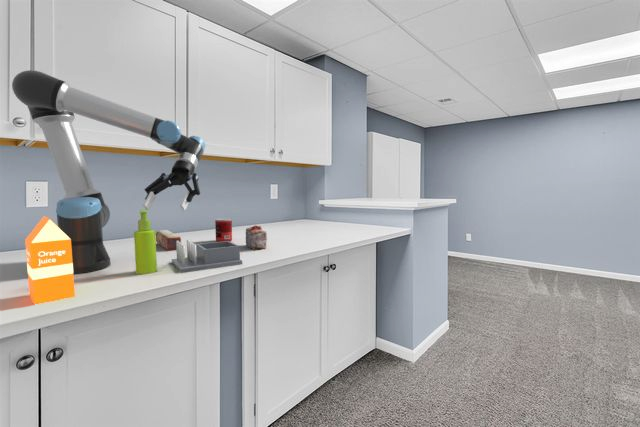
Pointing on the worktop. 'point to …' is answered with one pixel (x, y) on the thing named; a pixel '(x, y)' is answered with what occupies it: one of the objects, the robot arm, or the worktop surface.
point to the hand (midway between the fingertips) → (164, 208)
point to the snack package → (167, 239)
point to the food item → (256, 237)
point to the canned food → (223, 229)
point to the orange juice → (49, 263)
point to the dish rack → (206, 256)
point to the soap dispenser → (145, 246)
